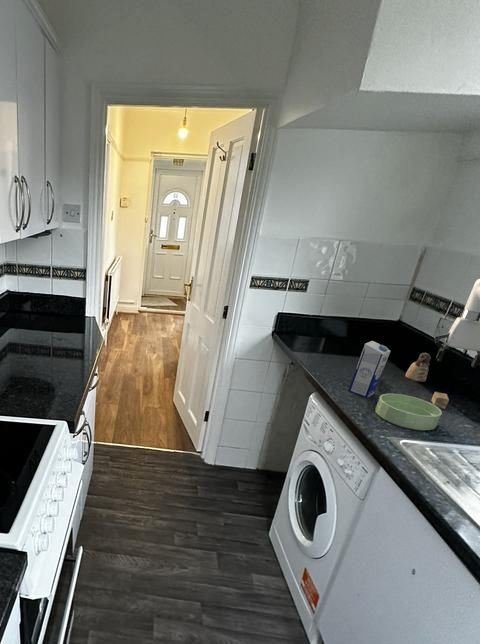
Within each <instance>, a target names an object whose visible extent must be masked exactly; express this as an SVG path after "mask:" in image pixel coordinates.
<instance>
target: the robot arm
mask: <svg viewBox="0 0 480 644" xmlns="http://www.w3.org/2000/svg"><path fill="white" fill-rule="evenodd" d="M468 296H469V297H468V298H467V300H466V301H467V302H466V304H465V306H464V308H463V311H462V313H461V316H458V317H456V318H455V320H454V322H453V323H452V325H451V326H450V328H449V330H448V332H447V333H444V334H437V335H434V336H433V339H434V343H435V345H436V347H437V348H438V351H437V353H436V357H435V358H436V360H437V362H439V363H441V362H442V360H443V358H444V356H445V353H446V351H445V350H447V349H449V348H455V349H459V350H460V349H461V350H466V351H467V350H468V351H473V352H476V353H477V354H475V355H474V357H473V360H472V362H471V364H470V366H471V367H472V368H473V369H476V368H477V367H479V366H480V278H478V279H476V280H475V282H474V284H473V286H472V289H471V292H470V294H469V295H468ZM442 339H445V340H444V343H441V340H442Z"/></svg>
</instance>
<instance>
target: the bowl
mask: <svg viewBox="0 0 480 644" xmlns="http://www.w3.org/2000/svg"><path fill="white" fill-rule="evenodd" d="M374 411H375V413H376V414H377V415H378V417H381V418H382V419H383V420H385V421H386V422H388V423H391V424H392V425H395V426H398V427H401V428H404V429H408V430H414V431H432V430H435V429H436V428H437V427H438V425H439V422H440V419H441V417H442V415H443V412H442V409H441V408H440V407H437V406H435V405H433V403H432V402H429V401H426V400H425V399H422V398H418V397H414V396H412V395H407V394H401V393H384V394H381V395H380V396H379V397H378V400H377V403H376V406H375V408H374Z"/></svg>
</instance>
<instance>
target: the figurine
mask: <svg viewBox="0 0 480 644" xmlns="http://www.w3.org/2000/svg"><path fill="white" fill-rule="evenodd" d="M431 359H432V357H431V355H430V354H429V353H427V352H422V353H420V354H419V355H418V359H417V360H416V361H414V362H412V363H411V364H410V366H409V368H408V369H407V370H406V372H405V377H406V378H407V379H409V380H412V381H416V382H424V383H425V382H426V381H427V378H428V373H429V366H430V361H431Z"/></svg>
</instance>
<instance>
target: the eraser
mask: <svg viewBox="0 0 480 644" xmlns="http://www.w3.org/2000/svg"><path fill="white" fill-rule="evenodd" d="M449 401H450V399H449V397H448V394H447V393H442V392H439V391H434V393H433V395H432V398H431V404H433V405H435V406H437V407H438V408H439V409H444V410H446V408H447V406H448V404H449Z"/></svg>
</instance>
